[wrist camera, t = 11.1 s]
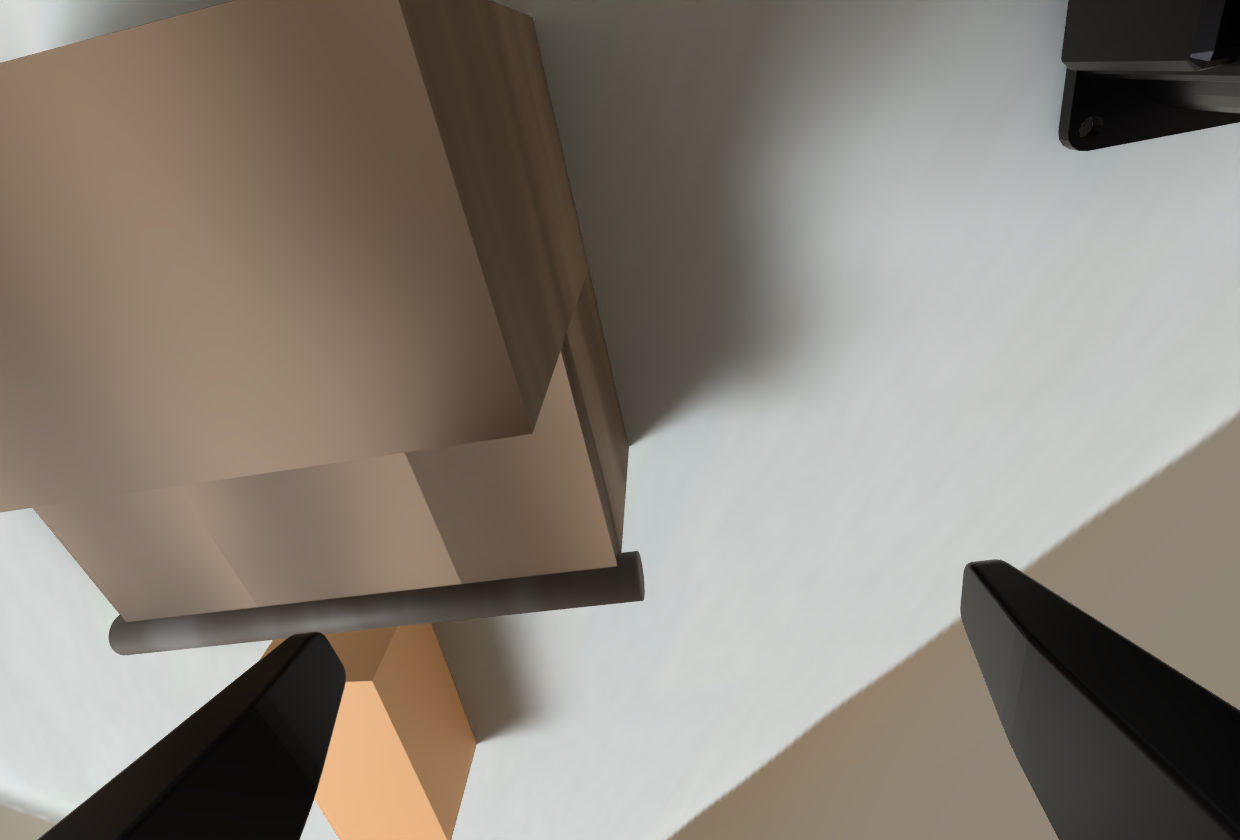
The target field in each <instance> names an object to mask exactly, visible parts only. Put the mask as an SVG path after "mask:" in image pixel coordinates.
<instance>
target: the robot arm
mask: <svg viewBox="0 0 1240 840" xmlns="http://www.w3.org/2000/svg"><path fill="white" fill-rule="evenodd" d="M1061 60H1062V62H1063V63H1064V64H1065V65H1066V66H1067V71H1066V78H1065V86H1064V93H1063V101H1062V109H1061V116H1060V124H1059V140H1060V141H1061V143H1062V145H1063V146H1065V147H1067V148H1069V149H1073V150H1078V151H1089V150H1095V149H1100V148H1105V147H1111V146H1116V145H1121V144H1126V143H1132V142H1137V141H1142V140H1148V139H1153V138H1158V137H1163V136H1169V135H1174V134H1179V133H1185V132H1190V131H1195V130H1200V129H1206V128H1211V127H1216V126H1222V125H1227V124H1232V123H1237V122H1240V0H1069V2H1068V10H1067V17H1066V25H1065V33H1064V41H1063V49H1062V57H1061ZM1089 117H1091V118H1092V121H1093V125H1092V128H1091V130H1090V131H1089V132H1088V133H1087V135H1086V136H1083V137H1080V132H1079V130H1080V127H1081V125H1082V123H1083V122H1084V121H1085V120H1086V119H1087V118H1089ZM960 610H961V618H962V622H963V625H964V628H965V631H966V633H967V636H968V639H969V641H970V644H971V646H972V648H973V651H974V653H975V656H976V659H977V662H978V664H979V667H980V669H981V672H982V674H983V677H984V679H985V682H986V685H987V687H988V690H989V692H990V695H991V697H992V700H993V703H994V705H995V708H996V710H997V713H998V715H999V718H1000V721H1001V723H1002V725H1003V728H1004V730H1005V733H1006V735H1007V738H1008V740H1009V742H1010V745H1011V747H1012V748H1013V751H1014V753H1015V755H1016V757H1017V759H1018V761H1019V763H1020V765H1021V767H1022V769H1023V771H1024V773H1025V774H1026V777H1027V779H1028V781H1029V782H1030V784H1031V786H1032V788H1033V790H1034V792H1035V794H1036V796H1037V798H1038V800H1039V802H1040V804H1041V805H1042V807H1043V809H1044V811H1045V813H1046V815H1047V817H1048V819H1049V821H1050V823H1051V825H1052V827H1053V829H1054V831H1055V833H1056V834H1057V836H1058V838H1059V840H1240V710H1238V709H1237V708H1235V707H1234V706H1232V705H1231V704H1229V703H1227V702H1226V701H1224V700H1223V699H1221V698H1219V697H1218V696H1216V695H1215V694H1213V693H1212V692H1210V691H1208V690H1207V689H1205V688H1204V687H1202V686H1201V685H1199V684H1197V683H1196V682H1194V681H1193V680H1191V679H1190V678H1188V677H1186V676H1185V675H1183V674H1182V673H1180V672H1179V671H1177V670H1175V669H1174V668H1172V667H1171V666H1169V665H1167V664H1166V663H1164V662H1162V661H1161V660H1160V659H1158V658H1157V657H1155V656H1153V655H1152V654H1150V653H1149V652H1147V651H1145V650H1144V649H1142V648H1141V647H1139V646H1138V645H1136V644H1134V643H1133V642H1131V641H1130V640H1128V639H1126V638H1125V637H1123V636H1122V635H1120V634H1119V633H1117V632H1116V631H1114V630H1112V629H1111V628H1109V627H1108V626H1106V625H1105V624H1103V623H1101V622H1100V621H1098V620H1097V619H1095V618H1094V617H1092V616H1090V615H1089V614H1087V613H1086V612H1084V611H1082V610H1081V609H1079V608H1078V607H1076V606H1075V605H1073V604H1072V603H1070V602H1068V601H1067V600H1065V599H1064V598H1062V597H1060V596H1059V595H1057V594H1056V593H1054V592H1053V591H1051V590H1049V589H1048V588H1046V587H1045V586H1043V585H1042V584H1040V583H1039V582H1037V581H1035V580H1034V579H1032V578H1030V577H1029V576H1027V575H1026V574H1024V573H1023V572H1021V571H1020V570H1018V569H1016V568H1015V567H1013V566H1012V565H1010V564H1009V563H1007V562H1005V561H1002V560H986V561H977V562H970V563H968V564H967V565H966V567H965V569H964V574H963V585H962V596H961V607H960ZM345 683H346V671H345V668H344V665H343V664H342V662H341V660H340V659H339V657H338V656H337V654H336V652H335V651H334V649H333V647H332V646H331V644H330V642H329V641H328V639H327V638H326V636H325V635H324V634H322V633H320V632H307V633H298V634H294V635H292V636H290V637H288V638H287V639H286V640H284V641H283V642H282V643H281V644H279V645H278V646H277V647H276V648H274V649H273V650H272V651H271V652H270V653H268V654H267V655H266V656H265V657H263V658H262V659H261V660H260V661H258V662H257V663H256V664H255V665H253V666H252V667H251V668H250V669H248V670H247V671H246V672H245V673H243V674H242V675H241V676H240V677H239V678H237V679H236V680H235V681H234V682H232V683H231V684H230V685H229V686H227V687H226V688H225V689H224V690H222V691H221V692H220V693H219V694H217V695H216V696H215V697H214V698H212V699H211V700H210V701H209V702H207V703H206V704H205V705H204V706H203V707H201V708H200V709H199V710H198V711H196V712H195V713H194V714H193V715H191V716H190V717H189V718H188V719H186V720H185V721H184V722H183V723H181V724H180V725H179V726H178V727H176V728H175V729H174V730H173V731H171V732H170V733H169V734H168V735H167V736H165V737H164V738H163V739H162V740H160V741H159V742H158V743H157V744H155V745H154V746H153V747H152V748H150V749H149V750H148V751H147V752H145V753H144V754H143V755H142V756H140V757H139V758H138V759H137V760H136V761H134V762H133V763H132V764H131V765H129V766H128V767H127V768H126V769H124V770H123V771H122V772H121V773H119V774H118V775H117V776H116V777H114V778H113V779H112V780H111V781H109V782H108V783H107V784H106V785H104V786H103V787H102V788H101V789H100V790H98V791H97V792H96V793H95V794H93V795H92V796H91V797H90V798H88V799H87V800H86V801H85V802H83V803H82V804H81V805H80V806H78V807H77V808H76V809H75V810H73V811H72V812H71V813H70V814H68V815H67V816H66V817H65V818H64V819H62V820H61V821H60V822H59V823H57V824H56V825H55V826H54V827H52V828H51V829H50V830H49V831H47V832H46V833H45V834H44V835H43V836H42V837H40V838H39V839H37V840H300V837H301V834H302V832H303V829H304V826H305V823H306V821H307V818H308V815H309V812H310V810H311V807H312V804H313V801H314V798H315V795H316V792H317V789H318V785H319V782H320V778H321V775H322V772H323V768H324V764H325V760H326V757H327V753H328V749H329V745H330V741H331V737H332V734H333V730H334V726H335V722H336V718H337V715H338V711H339V707H340V703H341V699H342V695H343V692H344V688H345Z"/></svg>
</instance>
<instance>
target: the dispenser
mask: <svg viewBox="0 0 1240 840" xmlns="http://www.w3.org/2000/svg"><path fill="white" fill-rule="evenodd" d="M628 452H629V446H628V442H627V437H626V433H625V429H624V424H623V420H622V415H621V411H620V406H619V402H618V397H617V393H616V388H615V384H614V380H613V375H612V371H611V366H610V362H609V357H608V353H607V348H606V344H605V340H604V335H603V331H602V326H601V322H600V317H599V313H598V308H597V304H596V300H595V295H594V291H593V286H592V282H591V277H590V273H589V268H588V264H587V260H586V255H585V251H584V246H583V242H582V237H581V233H580V228H579V224H578V220H577V215H576V211H575V206H574V202H573V197H572V193H571V188H570V184H569V180H568V175H567V171H566V166H565V162H564V157H563V153H562V148H561V144H560V140H559V135H558V131H557V126H556V122H555V117H554V113H553V108H552V104H551V100H550V95H549V91H548V86H547V82H546V77H545V73H544V68H543V64H542V60H541V55H540V51H539V46H538V42H537V37H536V33H535V28H534V24H533V20H532V17H530V16H527V15H525V14H522V13H520V12H517V11H515V10H512V9H510V8H507V7H504V6H502V5H499V4H497V3H494V2H492V1H489V0H233V1H230V2H226V3H222V4H219V5H215V6H211V7H207V8H204V9H200V10H196V11H192V12H189V13H185V14H181V15H178V16H174V17H170V18H166V19H163V20H159V21H155V22H151V23H148V24H144V25H140V26H137V27H133V28H129V29H125V30H122V31H118V32H114V33H110V34H107V35H103V36H99V37H96V38H92V39H88V40H84V41H81V42H77V43H73V44H69V45H66V46H62V47H58V48H55V49H51V50H47V51H43V52H40V53H36V54H32V55H28V56H25V57H21V58H17V59H14V60H10V61H6V62H2V63H0V512H6V511H13V510H19V509H26V508H33V509H34V510H35V511H36V513H37V514H38V515H39V516H40V517H41V519H42V520H43V521H44V522H45V524H46V525H47V526H48V527H49V528H50V530H51V531H52V532H53V533H54V535H55V536H56V537H57V538H58V539H59V541H60V542H61V543H62V544H63V546H64V547H65V548H66V549H67V550H68V552H69V553H70V554H71V555H72V557H73V558H74V559H75V560H76V561H77V563H78V564H79V565H80V566H81V568H82V569H83V570H84V571H85V572H86V574H87V575H88V576H89V577H90V578H91V580H92V581H93V582H94V583H95V585H96V586H97V587H98V588H99V589H100V591H101V592H102V593H103V594H104V596H105V597H106V598H107V599H108V600H109V602H110V603H111V604H112V605H113V607H114V608H115V609H116V610H117V611H118V613H119V614H120V615H119V616H118V617H117V618H116V619H115V620H114V622H113V623H112V625H111V628H110V631H109V643H110V646H111V648H112V649H113V650H114V651H115V652H116V653H118V654H120V655H132V654H142V653H151V652H161V651H170V650H180V649H189V648H199V647H208V646H218V645H227V644H237V643H246V642H256V641H265V640H275V639H284V638H288V637H290V636H292V635H294V634H298V633H307V632H320V633H322V634H331V633H341V632H350V631H360V630H369V629H379V628H388V627H398V626H407V625H417V624H426V623H436V622H445V621H455V620H464V619H474V618H483V617H493V616H502V615H511V614H521V613H530V612H540V611H549V610H559V609H568V608H578V607H587V606H597V605H606V604H616V603H625V602H635V601H643V600H644V576H643V568H642V563H641V558H640V555H639V552H638V551H634V552H625V553H621V549H622V535H623V521H624V507H625V494H626V480H627V466H628Z"/></svg>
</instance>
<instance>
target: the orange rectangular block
mask: <svg viewBox="0 0 1240 840" xmlns="http://www.w3.org/2000/svg"><path fill="white" fill-rule="evenodd" d="M324 635H325V636H326V638H327V639H328V641H329V642H330V644H331V646H332V647H333V649H334V651H335V652H336V654H337V656H338V657H339V659H340V660H341V662H342V664H343V665H344V668H345V671H346V683H345V688H344V692H343V695H342V699H341V703H340V707H339V711H338V715H337V718H336V722H335V726H334V730H333V734H332V737H331V741H330V745H329V749H328V753H327V757H326V760H325V764H324V768H323V772H322V775H321V778H320V782H319V785H318V789H317V792H316V795H315V798H314V799H315V801H316V803H317V804H318V806H319V807H320V809H321V810H322V812H323V814H324V815H325V817H326V818H327V820H328V822H329V823H330V825H331V826H332V828H333V830H334V831H335V833H336V834H337V836H338V837H339V839H340V840H451V839H452V835H453V831H454V827H455V824H456V820H457V816H458V812H459V809H460V805H461V801H462V797H463V794H464V790H465V786H466V782H467V778H468V775H469V771H470V767H471V763H472V760H473V756H474V752H475V748H476V745H477V743H476V741H475V738H474V735H473V733H472V730H471V727H470V725H469V722H468V719H467V717H466V714H465V711H464V709H463V706H462V703H461V701H460V698H459V695H458V693H457V690H456V687H455V685H454V682H453V679H452V677H451V674H450V671H449V669H448V666H447V663H446V661H445V658H444V655H443V653H442V650H441V647H440V645H439V642H438V639H437V637H436V634H435V632H434V629H433V626H432V624H431V623H426V624H417V625H407V626H398V627H388V628H379V629H369V630H360V631H350V632H341V633H331V634H324ZM286 639H287V638H284V639H275V640H273V641H272V643H271V644H270V646H269V647H268V649H267V650H266V652H265V653H264V655H263V656H262V658H263V657H265V656H266V655H267V654H268V653H270V652H271V651H272V650H273V649H274V648H276V647H277V646H278V645H279V644H281V643H282V642H283V641H284V640H286ZM262 658H261V659H262ZM261 659H260V660H261Z"/></svg>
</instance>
